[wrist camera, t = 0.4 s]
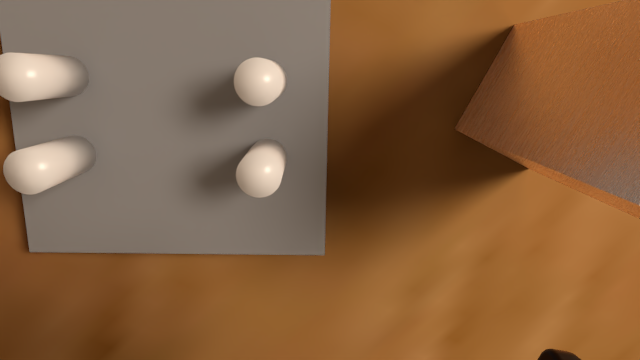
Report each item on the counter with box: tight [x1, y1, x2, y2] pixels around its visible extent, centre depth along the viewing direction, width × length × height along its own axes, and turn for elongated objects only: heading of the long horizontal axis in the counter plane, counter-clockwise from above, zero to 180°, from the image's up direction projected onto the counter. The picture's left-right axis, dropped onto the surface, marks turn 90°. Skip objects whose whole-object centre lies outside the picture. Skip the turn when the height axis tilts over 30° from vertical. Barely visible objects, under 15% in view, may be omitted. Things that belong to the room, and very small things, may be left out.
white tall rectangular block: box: [455, 0, 640, 219], centre depth 15 cm, size 5×4×12 cm
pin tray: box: [0, 0, 331, 255], centre depth 18 cm, size 12×13×5 cm
